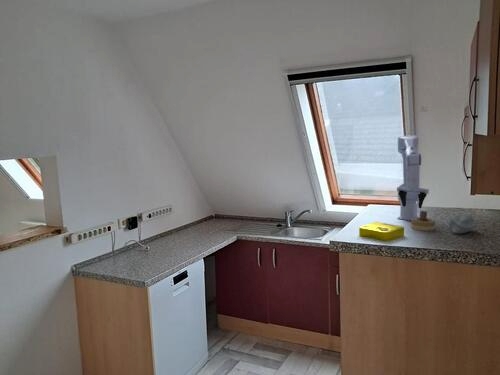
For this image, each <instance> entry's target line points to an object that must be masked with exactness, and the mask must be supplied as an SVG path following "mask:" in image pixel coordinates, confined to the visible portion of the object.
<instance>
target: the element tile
mask: <svg viewBox="0 0 500 375" xmlns="http://www.w3.org/2000/svg"><path fill="white" fill-rule="evenodd" d="M358 230H359V232H358V233H359V234H358V235H359V237H362V238H366V239H372V240H376V241H381V242H391V241H394V240H398V239H401V238H403V237H405V226H402V225H396V224H392V223H385V222H378V221H376V222H372V223H368V224H365V225H362V226H359V228H358Z"/></svg>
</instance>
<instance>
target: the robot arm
mask: <svg viewBox="0 0 500 375" xmlns="http://www.w3.org/2000/svg"><path fill="white" fill-rule="evenodd" d="M418 146H419V135H417V134H416V135H398V137H397V151H398V153H399V154H401V156H402V173H403V174H402V177H403V178H402V179H403V180H402V181H403V182H402V183H401V184H400V185H398V187H396V192H397V200H398V201H399V202H400V208H399V209H400V210H399V214H400V216H399V217H397V219H398V220H405V221H412V219H413V218H420V216H418V209H422V208H423V204H424V201H425V199H426V198H427V195H428V194H430V189H429V188H421V187H420V169H421V166H422V155H421V153H419V152H418V151H419V150H418ZM417 202H418V204H417Z"/></svg>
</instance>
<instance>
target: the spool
mask: <svg viewBox="0 0 500 375" xmlns="http://www.w3.org/2000/svg"><path fill="white" fill-rule="evenodd" d="M448 226H449V229H450V231H451V232H452V233H453V234H456V235H462V234H466V233H469V232H470V231H471V230H473V229H474V226H475V220H474V218H473V216H472V215H471V214H469V213H458V214H454V215H453V216H451V218H450V219H449V224H448Z"/></svg>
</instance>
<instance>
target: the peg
mask: <svg viewBox="0 0 500 375" xmlns="http://www.w3.org/2000/svg"><path fill="white" fill-rule="evenodd" d="M427 214H428V211H426V210H420V211H419V218H420V221H427V218H428V215H427Z"/></svg>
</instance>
